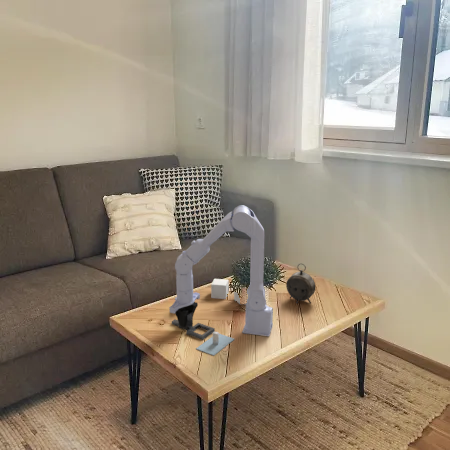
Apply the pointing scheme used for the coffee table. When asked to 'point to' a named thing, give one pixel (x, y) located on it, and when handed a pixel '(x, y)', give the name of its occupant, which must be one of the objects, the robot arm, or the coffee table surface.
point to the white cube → (219, 288)
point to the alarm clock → (301, 286)
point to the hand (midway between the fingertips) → (185, 323)
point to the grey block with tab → (194, 327)
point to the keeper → (215, 343)
